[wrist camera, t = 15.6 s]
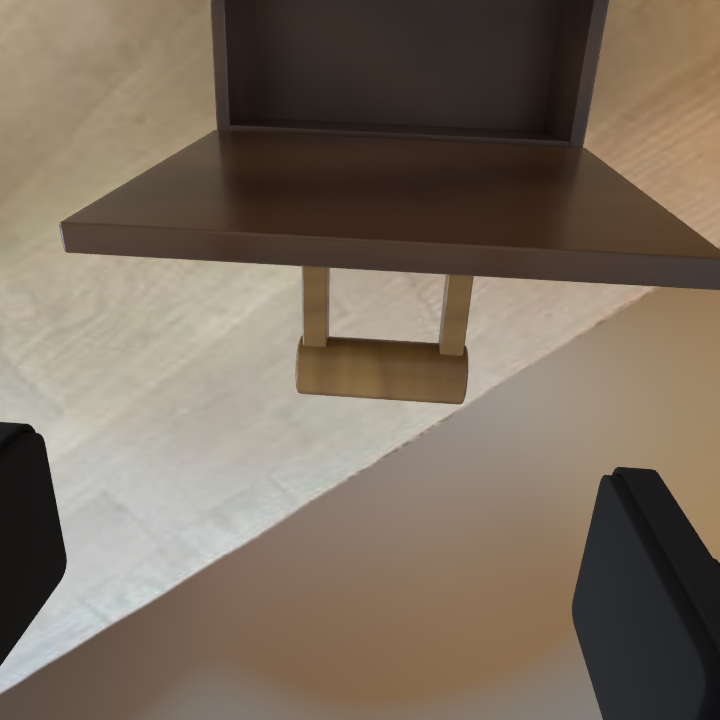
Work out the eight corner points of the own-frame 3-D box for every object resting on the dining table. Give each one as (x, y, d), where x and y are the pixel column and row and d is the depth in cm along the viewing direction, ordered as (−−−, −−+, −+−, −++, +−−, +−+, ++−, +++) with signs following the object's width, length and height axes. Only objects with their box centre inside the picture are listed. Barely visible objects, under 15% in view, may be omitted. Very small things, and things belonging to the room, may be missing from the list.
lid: (57, 222, 15) (96, 412, 18) (735, 260, 15) (669, 452, 17) (213, 129, 27) (222, 251, 30) (586, 147, 27) (561, 270, 29)
